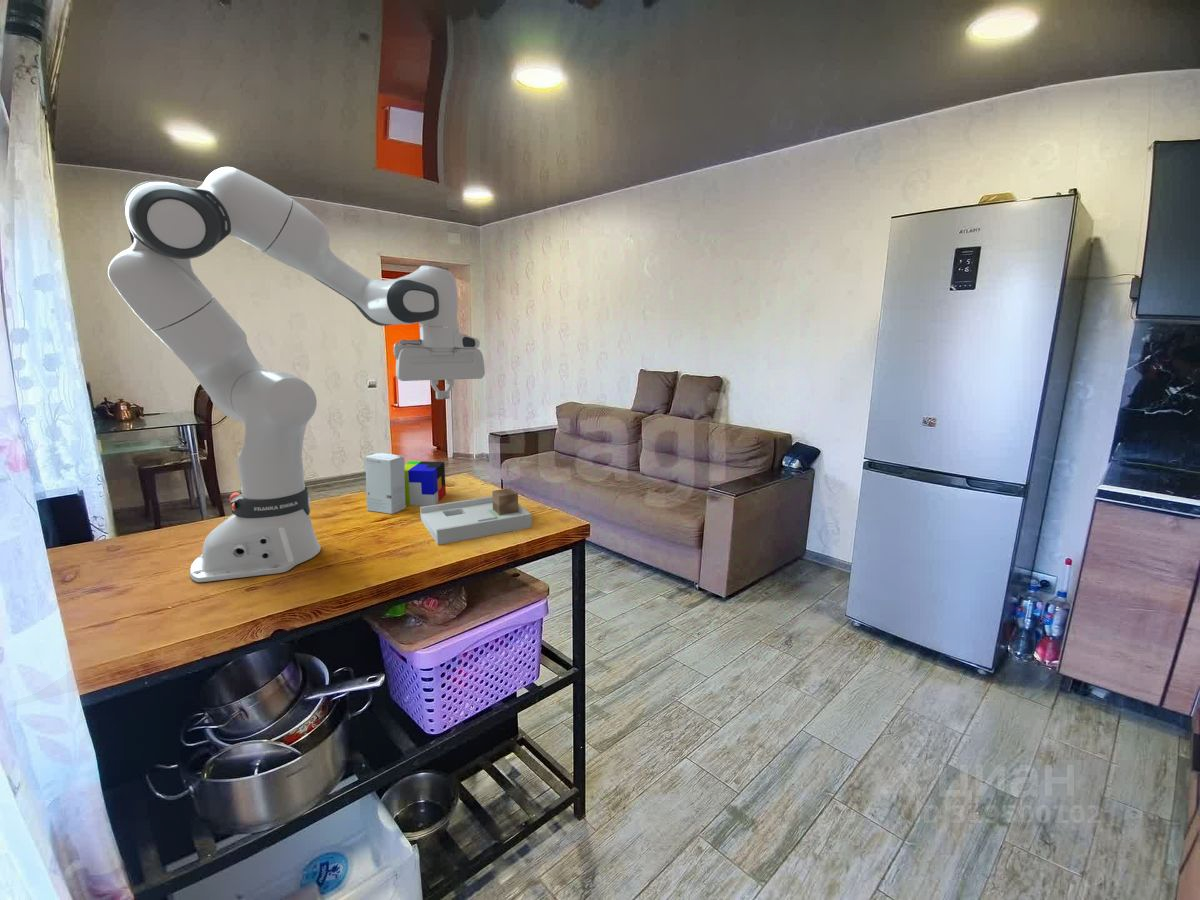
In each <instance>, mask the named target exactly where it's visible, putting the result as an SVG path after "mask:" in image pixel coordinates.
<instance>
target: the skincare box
mask: <svg viewBox="0 0 1200 900" xmlns="http://www.w3.org/2000/svg"><path fill="white" fill-rule="evenodd" d="M364 459H365V463H364V464H365V488H366V489H365V494H366V510H367V511H369V512H375V513H382V514H383V513H384V514H389V515H393V514H395V513H397V512H400V511H402V510H404V509H406V505H405V464H406V463H405V456H404V455H399V454H393V453H384V452H377V453H373V454H370V455H369V454H368V455H366V456H364Z"/></svg>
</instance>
